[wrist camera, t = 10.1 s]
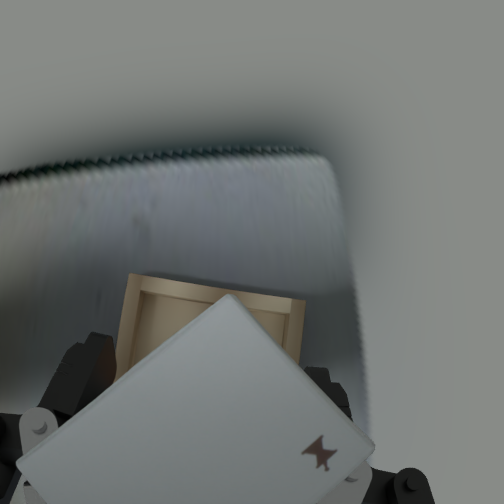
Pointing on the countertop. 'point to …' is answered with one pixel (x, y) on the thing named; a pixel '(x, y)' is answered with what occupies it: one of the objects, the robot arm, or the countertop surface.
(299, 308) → the holder
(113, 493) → the skincare box
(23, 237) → the countertop surface
